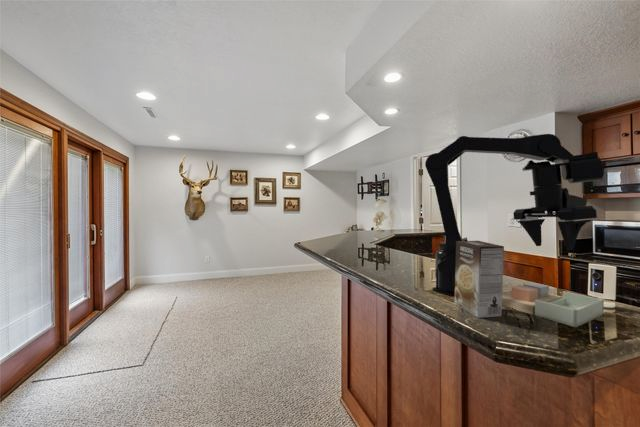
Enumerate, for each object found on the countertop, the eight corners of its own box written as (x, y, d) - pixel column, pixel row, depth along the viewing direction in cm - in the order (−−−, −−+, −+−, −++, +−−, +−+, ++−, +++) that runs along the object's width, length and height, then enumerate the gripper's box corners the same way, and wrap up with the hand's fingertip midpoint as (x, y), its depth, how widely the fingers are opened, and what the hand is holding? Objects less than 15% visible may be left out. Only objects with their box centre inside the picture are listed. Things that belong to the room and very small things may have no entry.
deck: (493, 303, 76) (493, 295, 76) (522, 294, 83) (522, 287, 83) (532, 314, 69) (533, 306, 68) (561, 304, 76) (561, 296, 75)
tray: (534, 315, 68) (535, 300, 68) (563, 304, 75) (563, 291, 75) (576, 327, 62) (576, 310, 62) (603, 314, 69) (603, 299, 68)
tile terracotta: (511, 296, 75) (511, 287, 75) (519, 294, 77) (520, 284, 77) (529, 301, 71) (529, 291, 71) (537, 299, 73) (537, 288, 73)
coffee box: (452, 304, 75) (454, 240, 75) (475, 303, 76) (477, 240, 76) (477, 318, 66) (479, 246, 66) (503, 316, 67) (505, 245, 67)
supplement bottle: (459, 281, 97) (460, 244, 96) (437, 280, 98) (437, 244, 97) (454, 276, 103) (455, 241, 103) (433, 275, 105) (434, 241, 104)
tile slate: (523, 293, 78) (523, 284, 78) (531, 291, 80) (531, 282, 80) (540, 298, 74) (540, 288, 74) (548, 295, 76) (548, 285, 76)
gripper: (616, 178, 67) (623, 248, 67) (546, 186, 85) (552, 241, 85) (569, 182, 66) (576, 253, 66) (509, 190, 85) (515, 245, 84)
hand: (553, 247), depth 75 cm, fingers open, 9 cm apart
